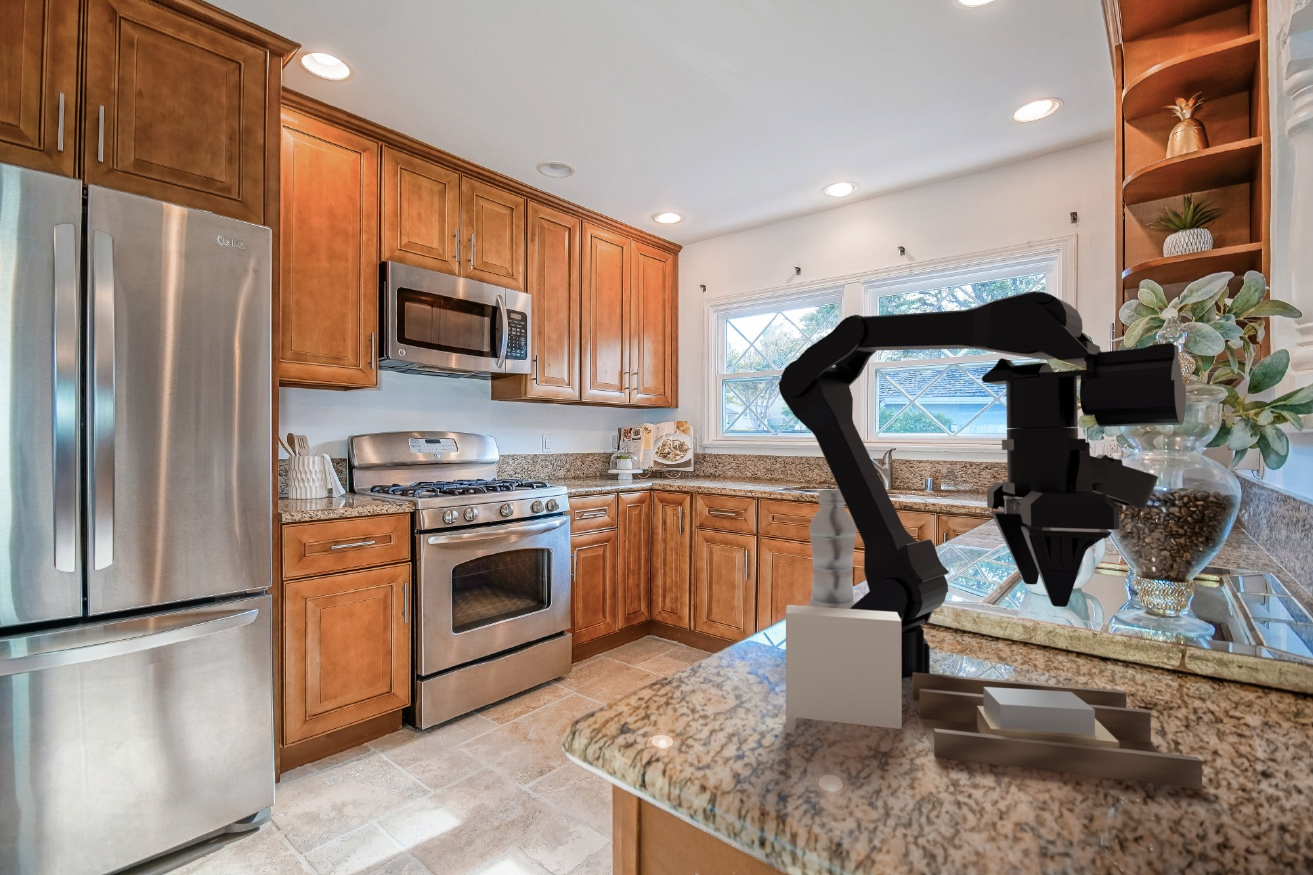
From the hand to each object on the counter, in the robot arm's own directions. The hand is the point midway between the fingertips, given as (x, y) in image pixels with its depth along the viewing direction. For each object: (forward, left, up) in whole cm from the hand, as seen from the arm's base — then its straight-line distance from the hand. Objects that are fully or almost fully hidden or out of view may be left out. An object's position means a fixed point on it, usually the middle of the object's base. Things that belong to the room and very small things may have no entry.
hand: (1044, 594), depth 58 cm
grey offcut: (-3, -8, -9) cm, 12 cm away
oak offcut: (-3, -8, -11) cm, 14 cm away
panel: (-19, -6, -13) cm, 23 cm away
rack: (-3, -5, -12) cm, 14 cm away
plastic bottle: (-19, +24, -13) cm, 33 cm away
